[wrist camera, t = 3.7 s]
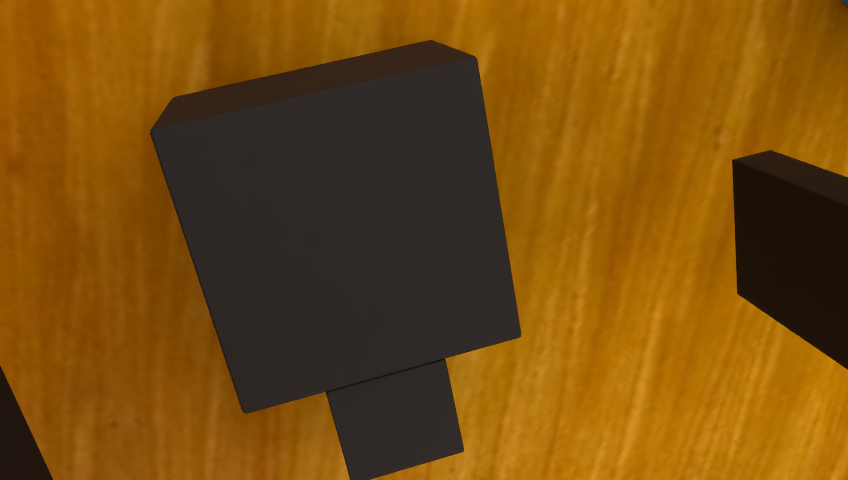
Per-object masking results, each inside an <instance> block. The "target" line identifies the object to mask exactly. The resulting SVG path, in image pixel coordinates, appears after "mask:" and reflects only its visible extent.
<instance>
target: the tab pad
mask: <svg viewBox="0 0 848 480" xmlns="http://www.w3.org/2000/svg"><path fill="white" fill-rule="evenodd" d="M150 135H151V138H152V141H153V144H154V147H155V150H156V153H157V156H158V159H159V162H160V165H161V168H162V171H163V174H164V177H165V180H166V183H167V186H168V189H169V192H170V195H171V198H172V201H173V204H174V207H175V210H176V213H177V216H178V219H179V222H180V225H181V228H182V231H183V234H184V237H185V240H186V243H187V246H188V249H189V252H190V255H191V258H192V261H193V264H194V267H195V270H196V273H197V276H198V279H199V282H200V285H201V288H202V291H203V294H204V297H205V300H206V303H207V306H208V309H209V312H210V315H211V318H212V321H213V324H214V327H215V330H216V333H217V336H218V339H219V342H220V345H221V348H222V351H223V354H224V357H225V360H226V363H227V367H228V370H229V373H230V376H231V379H232V382H233V385H234V388H235V391H236V394H237V397H238V400H239V403H240V406H241V409H242V411H243V412H244V414H247V413H251V412H254V411H258V410H262V409H265V408H269V407H272V406H276V405H279V404H283V403H287V402H290V401H294V400H297V399H301V398H305V397H308V396H312V395H315V394H319V393H323V392H326V395H327V398H328V402H329V405H330V409H331V412H332V416H333V420H334V423H335V427H336V430H337V434H338V437H339V441H340V445H341V448H342V452H343V455H344V459H345V462H346V466H347V470H348V473H349V477H350V480H370V479H373V478H377V477H380V476H383V475H387V474H390V473H394V472H397V471H400V470H404V469H407V468H410V467H414V466H417V465H420V464H424V463H427V462H431V461H434V460H437V459H441V458H444V457H447V456H451V455H454V454H458V453H461V452H463V451H464V447H463V442H462V437H461V432H460V428H459V423H458V418H457V413H456V408H455V403H454V398H453V394H452V389H451V384H450V379H449V374H448V369H447V365H446V360H445V358H448V357H452V356H455V355H459V354H462V353H466V352H469V351H473V350H477V349H480V348H484V347H487V346H491V345H495V344H498V343H502V342H505V341H509V340H512V339H516V338H519V337H521V329H520V323H519V317H518V310H517V304H516V298H515V292H514V286H513V279H512V273H511V267H510V261H509V254H508V248H507V242H506V236H505V230H504V223H503V217H502V211H501V205H500V198H499V192H498V186H497V180H496V174H495V167H494V161H493V155H492V149H491V142H490V136H489V130H488V124H487V118H486V111H485V105H484V99H483V93H482V86H481V80H480V74H479V68H478V61H477V58H476V57H475V56H473V55H470V54H467V53H465V52H462V51H459V50H457V49H454V48H451V47H449V46H446V45H443V44H441V43H438V42H435V41H432V40H429V41H424V42H420V43H415V44H411V45H406V46H402V47H397V48H393V49H388V50H384V51H379V52H375V53H370V54H366V55H361V56H357V57H352V58H348V59H343V60H339V61H334V62H330V63H325V64H321V65H316V66H312V67H307V68H303V69H298V70H294V71H289V72H285V73H280V74H276V75H271V76H267V77H262V78H258V79H253V80H249V81H244V82H240V83H235V84H231V85H226V86H222V87H217V88H213V89H209V90H204V91H200V92H195V93H191V94H186V95H182V96H177V97H174V98H173V99H172V100H171V101H170V103H169V104H168V106H167V107H166V109H165V110H164V111H163V113H162V114H161V116H160V117H159V119H158V120H157V122H156V123H155V124H154V126H153V127H152V129H151V130H150Z"/></svg>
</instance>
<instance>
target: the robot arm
mask: <svg viewBox="0 0 848 480" xmlns="http://www.w3.org/2000/svg"><path fill="white" fill-rule="evenodd" d="M732 166H733V192H734V218H735V245H736V271H737V294H738V295H740V296H741V297H743V298H744V299H746V300H747V301H749V302H750V303H752V304H753V305H754V306H756V307H757V308H759V309H760V310H762V311H763V312H765V313H766V314H768V315H769V316H770V317H772V318H773V319H775V320H776V321H778V322H779V323H781V324H782V325H784V326H785V327H786V328H788V329H789V330H791V331H792V332H794V333H795V334H797V335H798V336H800V337H801V338H803V339H804V340H805V341H807V342H808V343H810V344H811V345H813V346H814V347H816V348H817V349H819V350H820V351H821V352H823V353H824V354H826V355H827V356H829V357H830V358H832V359H833V360H835V361H836V362H837V363H839V364H840V365H842V366H843V367H845V368H846V369H848V177H845V176H842V175H839V174H836V173H833V172H831V171H828V170H825V169H822V168H819V167H817V166H814V165H811V164H808V163H805V162H802V161H800V160H797V159H794V158H791V157H788V156H786V155H783V154H780V153H777V152H774V151H771V150H769V151H765V152H761V153H757V154H753V155H749V156H745V157H741V158H737V159H734V160H732ZM0 480H53V478H52V476H51V474H50V472H49V470H48V468H47V465H46V463H45V461H44V459H43V457H42V455H41V452H40V450H39V448H38V446H37V444H36V442H35V439H34V437H33V435H32V433H31V431H30V429H29V426H28V424H27V422H26V420H25V418H24V416H23V414H22V411H21V409H20V407H19V405H18V403H17V401H16V398H15V396H14V394H13V392H12V390H11V388H10V385H9V383H8V381H7V379H6V377H5V375H4V373H3V370H2V368H1V366H0Z"/></svg>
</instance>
